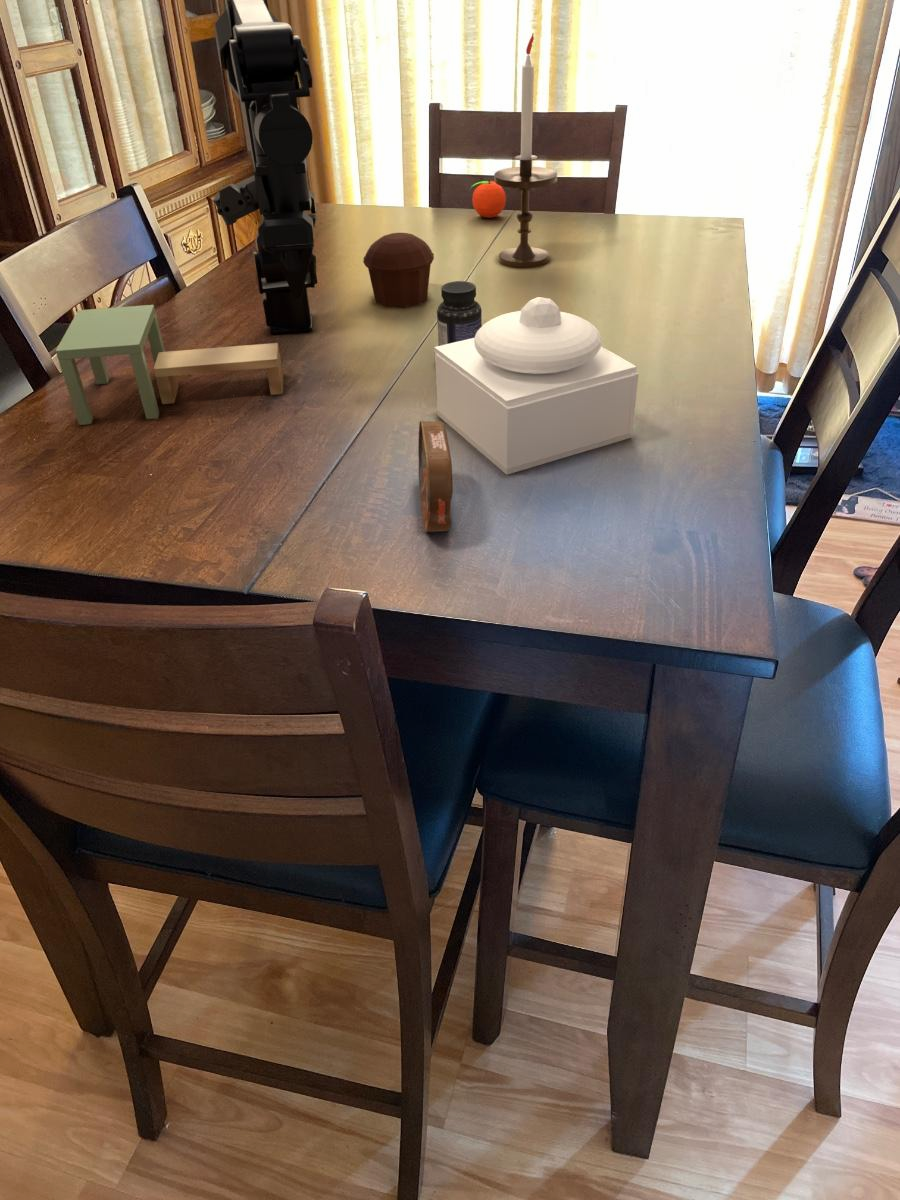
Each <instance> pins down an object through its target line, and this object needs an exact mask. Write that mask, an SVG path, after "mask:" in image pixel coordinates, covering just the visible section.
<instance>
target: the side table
mask: <svg viewBox="0 0 900 1200" xmlns="http://www.w3.org/2000/svg"><path fill="white" fill-rule="evenodd" d="M160 329H161V328H160V325H159V321H158V315H157V312H156V308H155V305H154V304H144V305H129V306H119V307H104V308H91V309H89V308H88V309H78V310H77V311H76V314H75V315H74V316H73V319H72V320H71V323H70V324H69V326H68V327H67V329H66V331H65V333H64V335H63V337H62V338H61V340H60V342H59V343H58V346H57V348H56V349H55V354H56V357H57V360H58V363H59V366H60V369H61V373H62V376H63V379H64V382H65V386H66V388H67V391H68V395H69V397H70V400H71V404H72V407H73V410H74V413H75V416H76V419H77V423H78V426H84V425H85V426H86V425H92V423H93V420H94V418H93V417H94V416H93V415H92V414H93V413H92V411H91V408H90V404H89V402H88V398H87V395H86V392H85V387H84V385H83V382H82V379H81V375H80V372H79V369H78V366H77V362H76V359H88V360H89V363H90V367H91V370H92V375H93V376H94V380H95V384H96V385H106V384H107V385H108V383H109V381H110V377H109V374H108V373H109V372H108V369H107V366H106V363H105V359H104V357H112V356H113V357H114V356H127V355H128V356H129V360H130V362H131V367H132V371H133V374H134V378H135V381H136V385H137V389H138V392H139V393H138V394H139V396H140V401H141V404H142V408H143V411H144V415H145V419H146V420H154V419H155V420H157V419H159V416H160V410H159V405H158V402H157V399H156V394H155V390H154V386H153V382H152V378H151V375H150V370H149V367H148V362H147V359H146V355H145V351H144V348H145V344H146V341H147V339H148V343H149V346H150V350H151V351H150V352H151V355H152V358H153V362H154V364H155V363H156V360H157V357H158V353H159V352H166V350H165V345H164V341H163V337H162V333H161V330H160Z"/></svg>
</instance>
